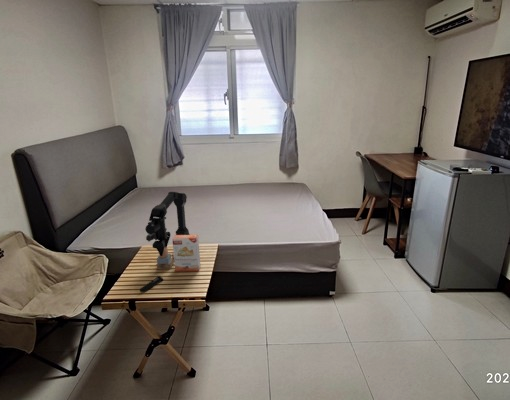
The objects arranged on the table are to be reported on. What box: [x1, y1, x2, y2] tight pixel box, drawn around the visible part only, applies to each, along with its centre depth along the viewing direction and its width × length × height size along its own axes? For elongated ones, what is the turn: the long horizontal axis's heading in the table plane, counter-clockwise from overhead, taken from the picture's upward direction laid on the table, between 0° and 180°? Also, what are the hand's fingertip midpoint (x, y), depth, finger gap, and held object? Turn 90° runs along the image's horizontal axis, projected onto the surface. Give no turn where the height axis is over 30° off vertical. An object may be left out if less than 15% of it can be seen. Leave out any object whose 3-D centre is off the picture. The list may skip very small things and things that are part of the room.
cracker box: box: [171, 234, 201, 272], centre depth 183 cm, size 14×6×21 cm, turn 89°
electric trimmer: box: [139, 275, 164, 293], centre depth 168 cm, size 4×16×3 cm, turn 154°
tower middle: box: [156, 253, 172, 265], centre depth 189 cm, size 6×6×4 cm
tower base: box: [156, 257, 175, 270], centre depth 190 cm, size 8×8×4 cm
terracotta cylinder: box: [158, 246, 169, 258], centre depth 187 cm, size 5×5×5 cm
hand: (163, 252), depth 187 cm, fingers open, 9 cm apart
